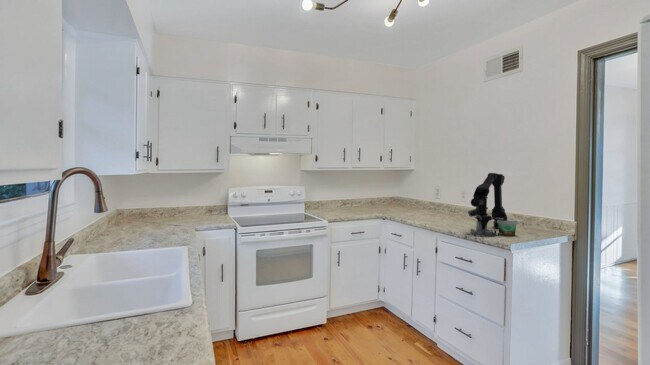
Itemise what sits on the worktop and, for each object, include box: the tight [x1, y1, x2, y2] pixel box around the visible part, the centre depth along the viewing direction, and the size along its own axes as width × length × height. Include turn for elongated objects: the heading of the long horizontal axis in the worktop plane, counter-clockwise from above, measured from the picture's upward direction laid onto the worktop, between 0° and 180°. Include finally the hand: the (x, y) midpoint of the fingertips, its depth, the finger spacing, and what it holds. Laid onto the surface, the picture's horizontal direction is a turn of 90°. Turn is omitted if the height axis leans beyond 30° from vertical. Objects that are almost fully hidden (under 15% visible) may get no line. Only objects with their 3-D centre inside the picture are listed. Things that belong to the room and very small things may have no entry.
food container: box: [497, 219, 519, 237], centre depth 204 cm, size 12×6×10 cm, turn 80°
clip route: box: [481, 229, 501, 238], centre depth 206 cm, size 11×11×2 cm
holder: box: [470, 228, 494, 236], centre depth 210 cm, size 11×10×2 cm
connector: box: [475, 220, 488, 231], centre depth 210 cm, size 5×5×6 cm
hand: (481, 228), depth 210 cm, fingers closed on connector, 5 cm apart
